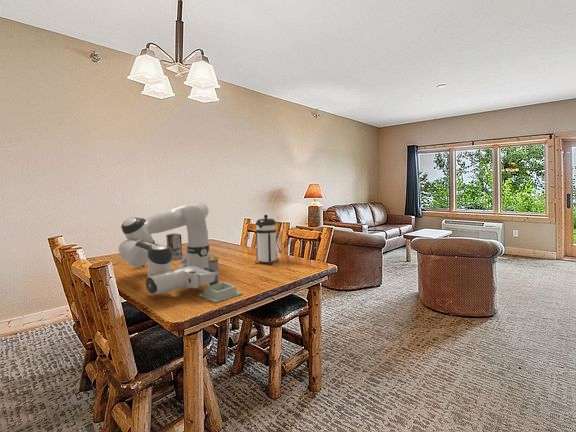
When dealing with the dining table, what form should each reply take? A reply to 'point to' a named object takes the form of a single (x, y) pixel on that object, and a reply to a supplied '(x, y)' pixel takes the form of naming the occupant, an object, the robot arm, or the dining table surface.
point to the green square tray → (220, 292)
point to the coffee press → (266, 240)
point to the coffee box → (175, 245)
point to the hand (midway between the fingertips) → (212, 270)
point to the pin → (213, 268)
